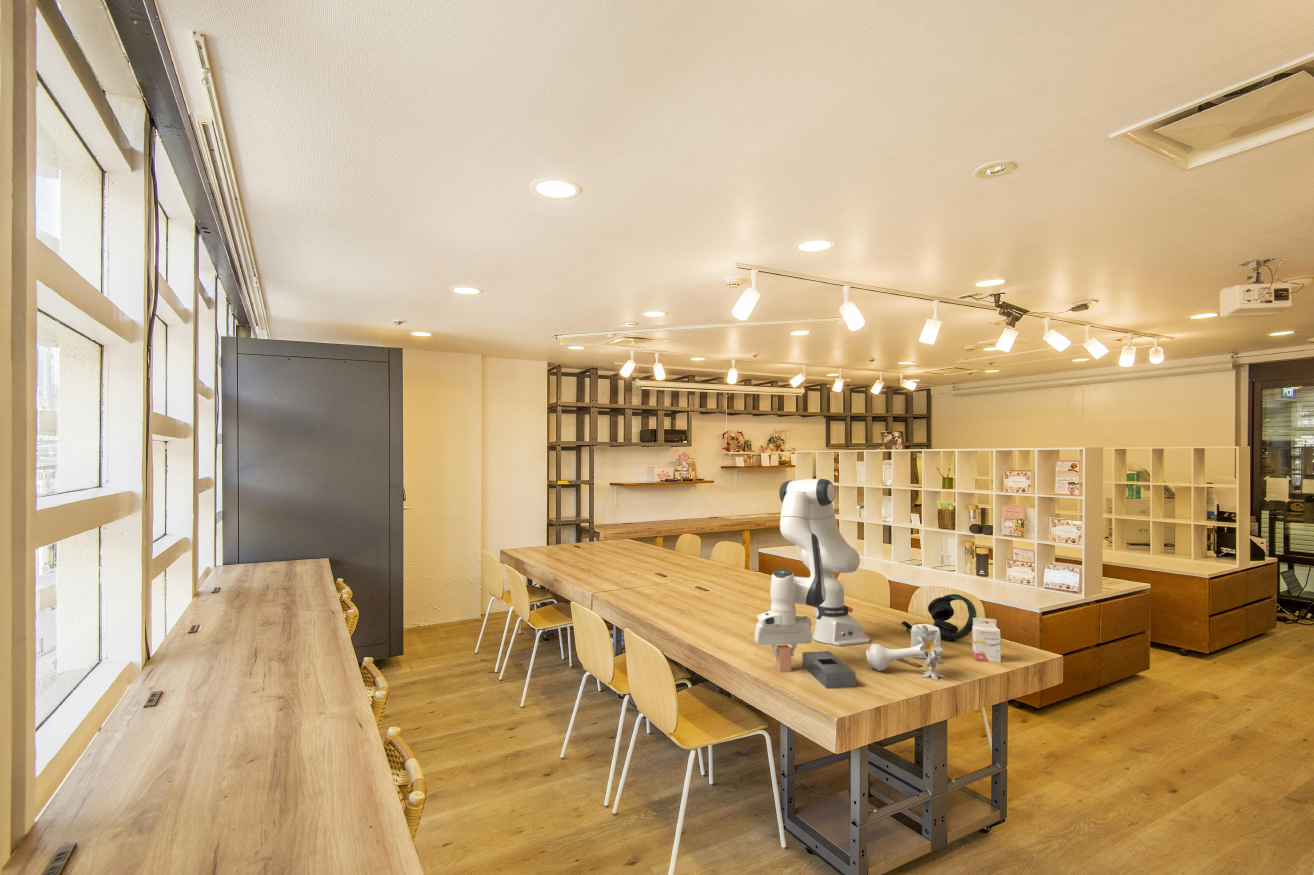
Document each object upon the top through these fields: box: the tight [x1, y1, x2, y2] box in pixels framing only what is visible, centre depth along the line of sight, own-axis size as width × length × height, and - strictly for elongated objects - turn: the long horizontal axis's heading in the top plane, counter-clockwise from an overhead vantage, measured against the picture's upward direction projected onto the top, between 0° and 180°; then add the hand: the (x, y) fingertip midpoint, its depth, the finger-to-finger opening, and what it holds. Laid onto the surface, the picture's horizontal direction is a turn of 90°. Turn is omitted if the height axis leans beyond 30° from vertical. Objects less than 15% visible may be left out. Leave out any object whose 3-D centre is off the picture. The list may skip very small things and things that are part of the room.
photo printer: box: [910, 623, 942, 660], centre depth 231 cm, size 10×4×12 cm, turn 73°
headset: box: [901, 593, 978, 641], centre depth 256 cm, size 18×14×29 cm
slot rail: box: [801, 650, 857, 689], centre depth 212 cm, size 10×22×5 cm, turn 7°
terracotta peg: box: [775, 644, 792, 673], centre depth 218 cm, size 4×4×8 cm
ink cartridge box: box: [971, 617, 1002, 663], centre depth 228 cm, size 9×5×15 cm, turn 76°
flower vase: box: [865, 625, 946, 681], centre depth 215 cm, size 13×18×25 cm
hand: (783, 656), depth 218 cm, fingers closed on terracotta peg, 4 cm apart
